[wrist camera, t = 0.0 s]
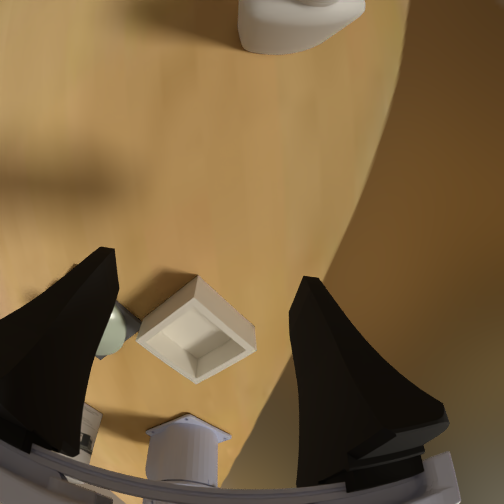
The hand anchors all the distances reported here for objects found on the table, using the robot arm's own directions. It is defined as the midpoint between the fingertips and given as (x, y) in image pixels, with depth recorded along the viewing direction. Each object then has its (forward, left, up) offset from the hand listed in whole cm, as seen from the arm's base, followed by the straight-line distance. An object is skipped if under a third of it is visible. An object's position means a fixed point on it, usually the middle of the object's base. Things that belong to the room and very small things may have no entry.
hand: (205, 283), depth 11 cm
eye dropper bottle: (+11, +7, -11) cm, 17 cm away
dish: (-9, -7, -11) cm, 15 cm away
